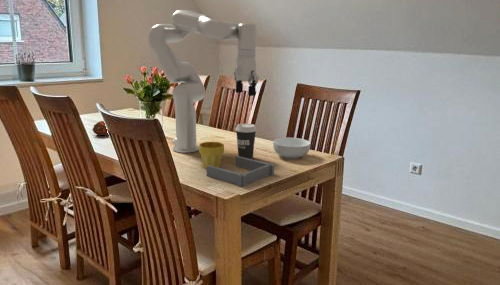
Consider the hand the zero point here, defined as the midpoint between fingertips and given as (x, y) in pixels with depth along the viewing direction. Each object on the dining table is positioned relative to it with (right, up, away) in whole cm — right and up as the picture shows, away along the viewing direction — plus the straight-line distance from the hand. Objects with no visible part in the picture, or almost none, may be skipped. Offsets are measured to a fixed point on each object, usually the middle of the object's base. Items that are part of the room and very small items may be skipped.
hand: (245, 94), depth 189 cm
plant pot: (-14, -31, -5) cm, 35 cm away
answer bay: (-2, -34, -14) cm, 37 cm away
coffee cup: (0, -28, +9) cm, 29 cm away
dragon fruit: (-78, -17, +47) cm, 92 cm away
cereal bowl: (+21, -28, +13) cm, 37 cm away
